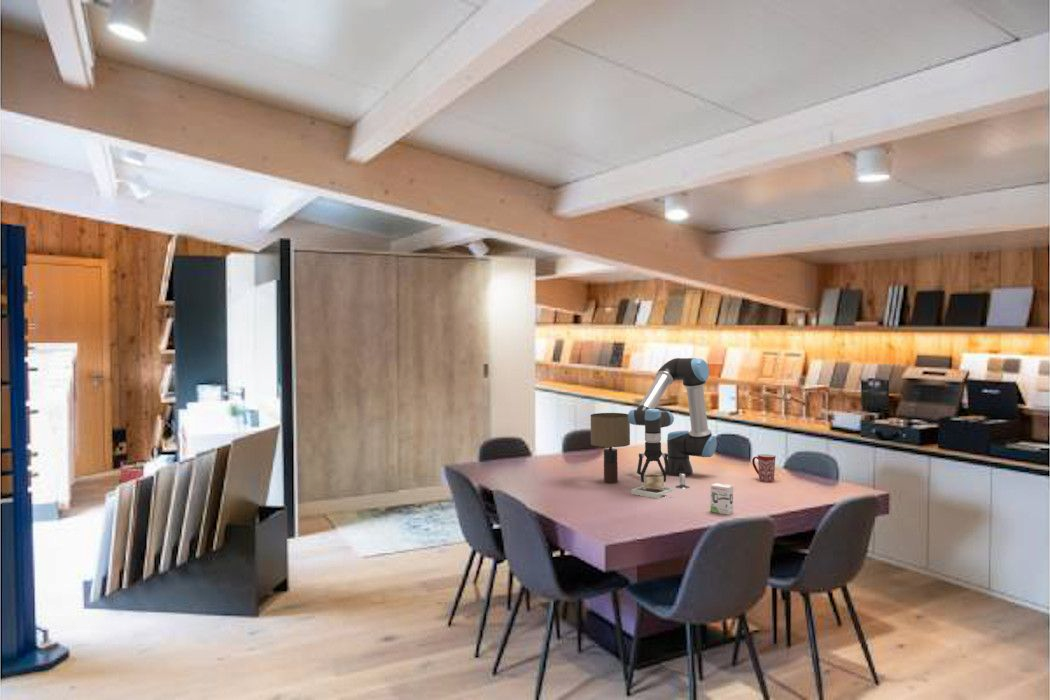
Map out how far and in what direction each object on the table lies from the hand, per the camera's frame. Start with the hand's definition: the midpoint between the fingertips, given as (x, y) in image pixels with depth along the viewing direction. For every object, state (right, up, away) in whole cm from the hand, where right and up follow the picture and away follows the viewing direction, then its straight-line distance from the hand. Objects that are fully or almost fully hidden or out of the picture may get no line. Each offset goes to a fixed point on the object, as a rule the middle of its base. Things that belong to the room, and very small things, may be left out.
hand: (653, 488), depth 344 cm
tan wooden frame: (0, +1, 0) cm, 1 cm away
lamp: (-17, -2, +28) cm, 33 cm away
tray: (0, -2, 0) cm, 2 cm away
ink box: (+23, -3, -37) cm, 43 cm away
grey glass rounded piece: (+16, -2, +7) cm, 17 cm away
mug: (+62, -1, +27) cm, 68 cm away
